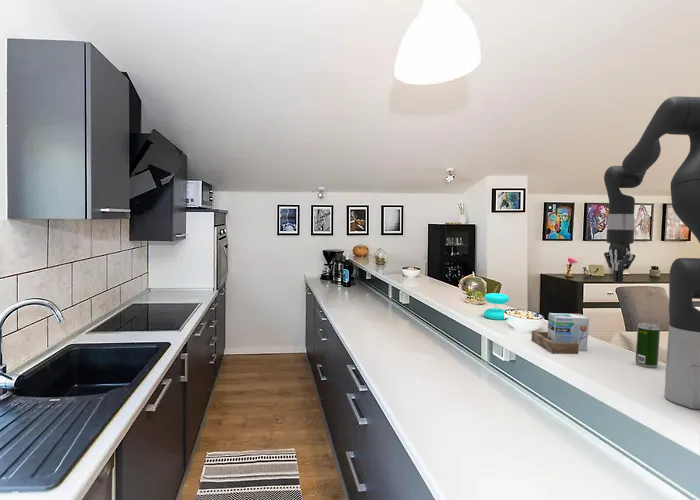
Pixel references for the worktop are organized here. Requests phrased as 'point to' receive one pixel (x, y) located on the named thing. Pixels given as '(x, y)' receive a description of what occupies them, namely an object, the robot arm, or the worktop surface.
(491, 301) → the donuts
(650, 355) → the green metal cylinder
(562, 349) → the wooden u-shaped bracket
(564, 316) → the light bulb box
